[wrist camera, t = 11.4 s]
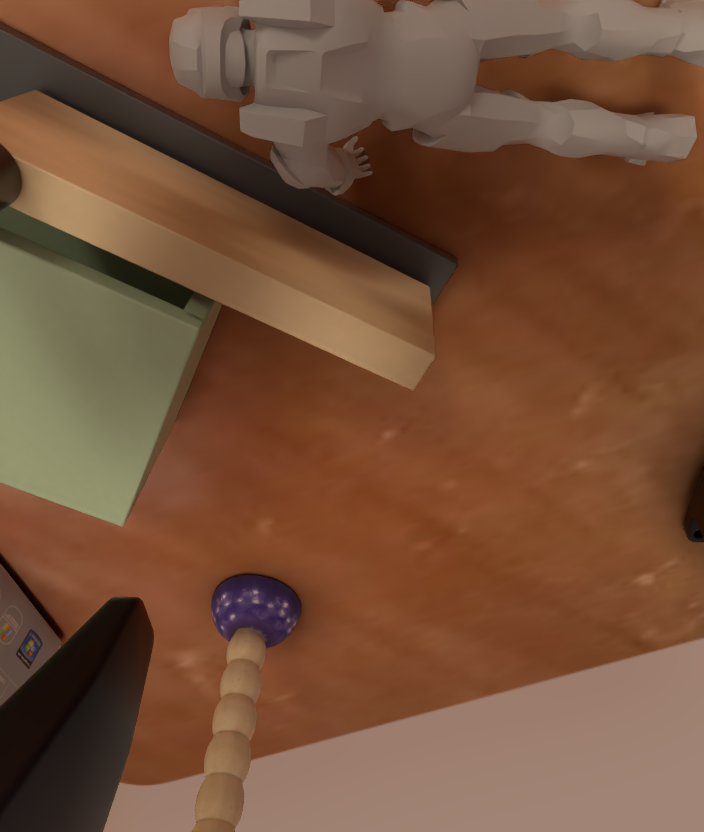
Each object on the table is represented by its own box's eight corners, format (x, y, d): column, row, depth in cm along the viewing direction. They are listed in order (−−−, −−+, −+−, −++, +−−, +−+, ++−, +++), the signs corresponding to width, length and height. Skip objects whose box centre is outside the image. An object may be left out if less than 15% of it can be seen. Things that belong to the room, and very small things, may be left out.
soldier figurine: (630, -78, 16) (143, -158, 13) (804, -79, 12) (160, -196, 9) (558, 174, 20) (167, 167, 16) (673, 238, 16) (186, 246, 12)
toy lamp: (309, 575, 28) (228, 1125, 15) (315, 637, 31) (251, 1149, 18) (206, 572, 29) (35, 1108, 15) (221, 633, 32) (88, 1134, 18)
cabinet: (457, 258, 19) (474, 346, 15) (317, 480, 25) (299, 592, 21) (-257, -111, 15) (-534, -143, 11) (-228, 259, 21) (-399, 339, 16)
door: (433, 280, 19) (459, 526, 11) (407, 322, 20) (412, 579, 12) (36, 80, 16) (-334, 200, 8) (26, 139, 17) (-316, 300, 9)
